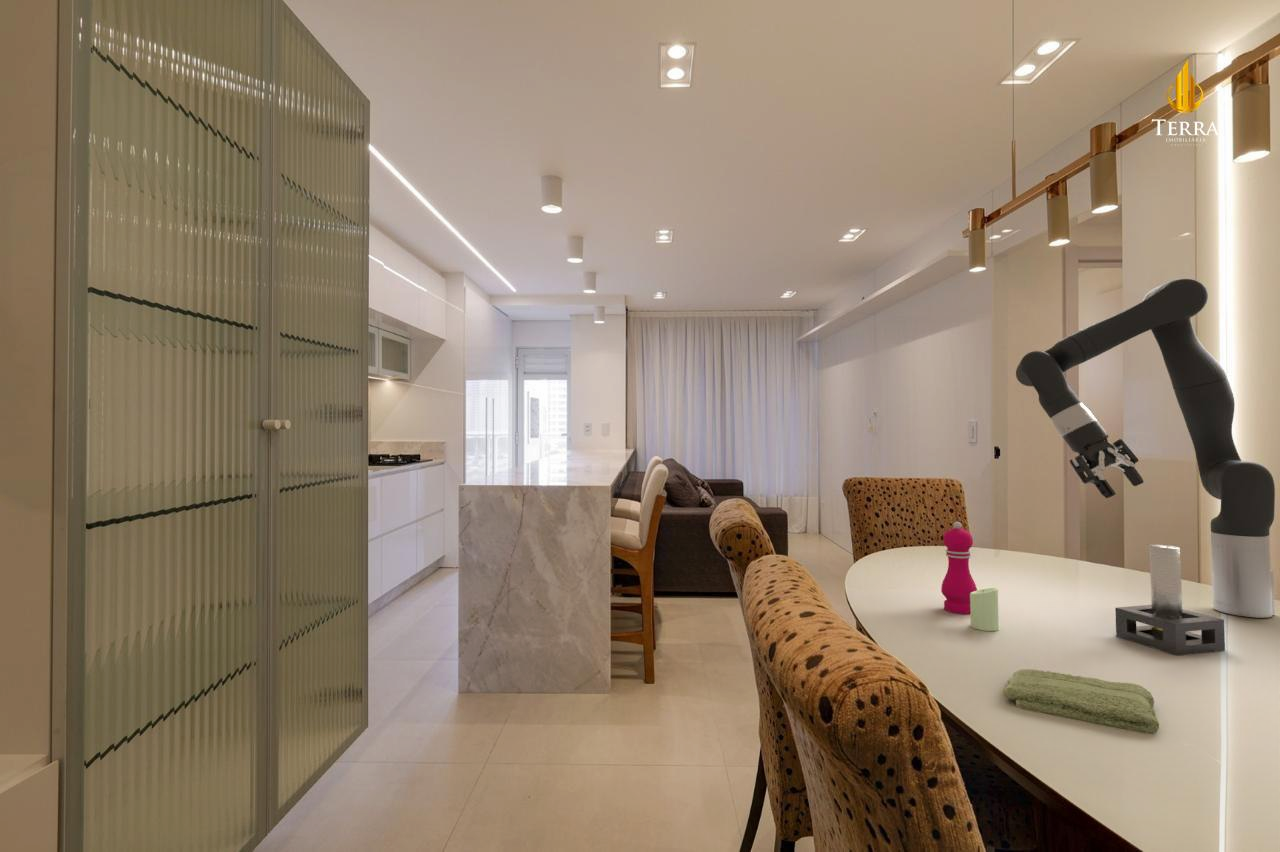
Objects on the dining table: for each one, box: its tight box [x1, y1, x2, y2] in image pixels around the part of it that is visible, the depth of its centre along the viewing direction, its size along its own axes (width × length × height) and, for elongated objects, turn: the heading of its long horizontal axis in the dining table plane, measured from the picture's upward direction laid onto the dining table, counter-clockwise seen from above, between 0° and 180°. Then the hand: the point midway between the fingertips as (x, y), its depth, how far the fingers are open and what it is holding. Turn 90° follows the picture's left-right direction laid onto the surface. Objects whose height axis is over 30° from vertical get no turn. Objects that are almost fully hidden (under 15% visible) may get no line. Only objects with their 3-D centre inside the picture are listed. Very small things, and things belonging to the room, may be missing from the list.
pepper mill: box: [940, 521, 978, 615], centre depth 137 cm, size 7×7×20 cm
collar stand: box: [1114, 604, 1226, 656], centre depth 114 cm, size 11×11×6 cm
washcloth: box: [1003, 668, 1160, 734], centre depth 88 cm, size 13×18×3 cm
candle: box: [970, 587, 1000, 632], centre depth 125 cm, size 5×5×8 cm
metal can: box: [1149, 544, 1183, 639], centre depth 114 cm, size 5×5×18 cm
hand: (1125, 490), depth 133 cm, fingers open, 8 cm apart
